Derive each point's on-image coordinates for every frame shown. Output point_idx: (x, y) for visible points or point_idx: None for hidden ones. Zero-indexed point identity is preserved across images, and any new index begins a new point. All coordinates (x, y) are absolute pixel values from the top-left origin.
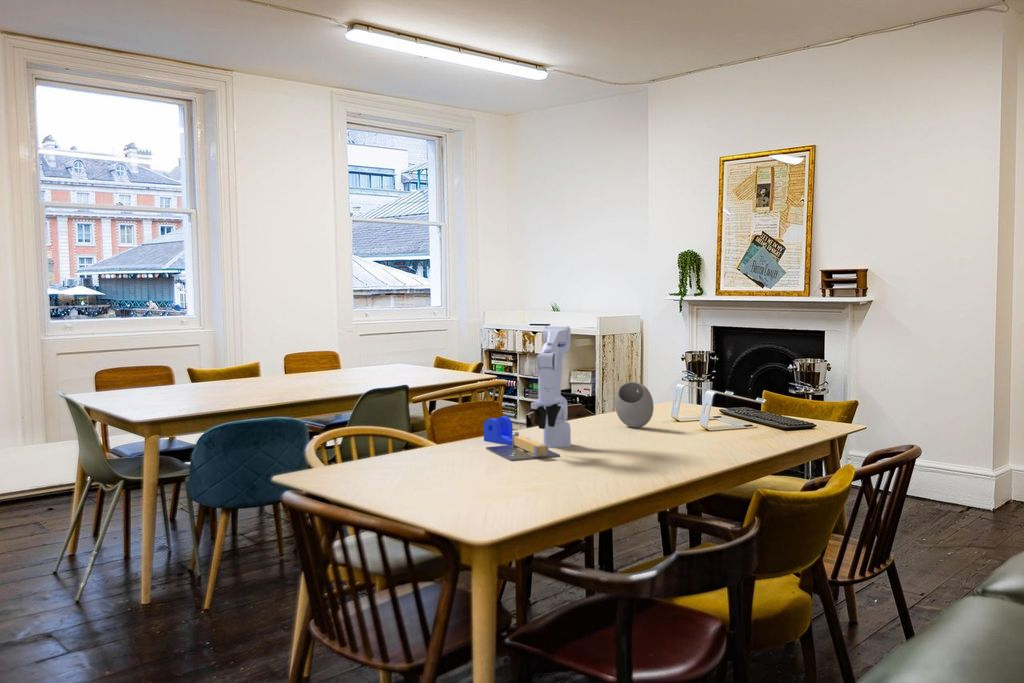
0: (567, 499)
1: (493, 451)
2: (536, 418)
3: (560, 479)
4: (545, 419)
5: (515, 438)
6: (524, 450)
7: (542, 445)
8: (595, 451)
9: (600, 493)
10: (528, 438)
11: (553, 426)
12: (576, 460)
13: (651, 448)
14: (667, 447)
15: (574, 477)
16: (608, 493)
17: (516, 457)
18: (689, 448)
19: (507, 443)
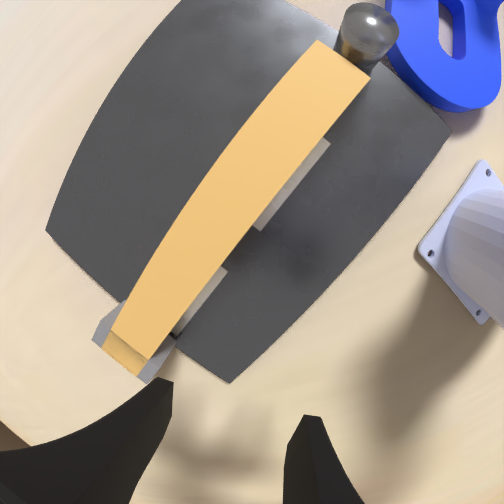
0: (5, 412)
1: (143, 46)
2: (88, 425)
3: (42, 404)
4: (132, 481)
5: (302, 59)
6: None
7: (133, 358)
8: (404, 424)
9: None
10: (494, 91)
11: (289, 448)
12: (221, 426)
13: (453, 474)
14: (462, 481)
15: (69, 427)
16: None
17: (74, 233)
18: (451, 498)
19: (388, 4)
